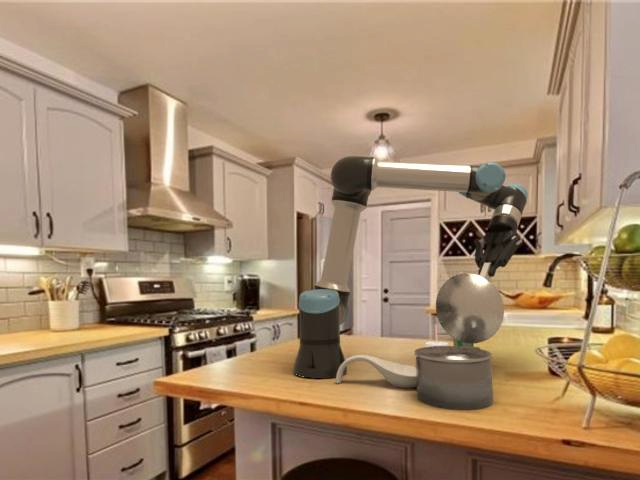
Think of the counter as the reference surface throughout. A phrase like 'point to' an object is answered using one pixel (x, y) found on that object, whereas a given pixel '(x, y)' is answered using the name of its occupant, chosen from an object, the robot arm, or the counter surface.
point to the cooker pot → (454, 377)
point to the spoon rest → (385, 371)
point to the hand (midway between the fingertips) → (482, 284)
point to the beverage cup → (436, 343)
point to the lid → (469, 308)
